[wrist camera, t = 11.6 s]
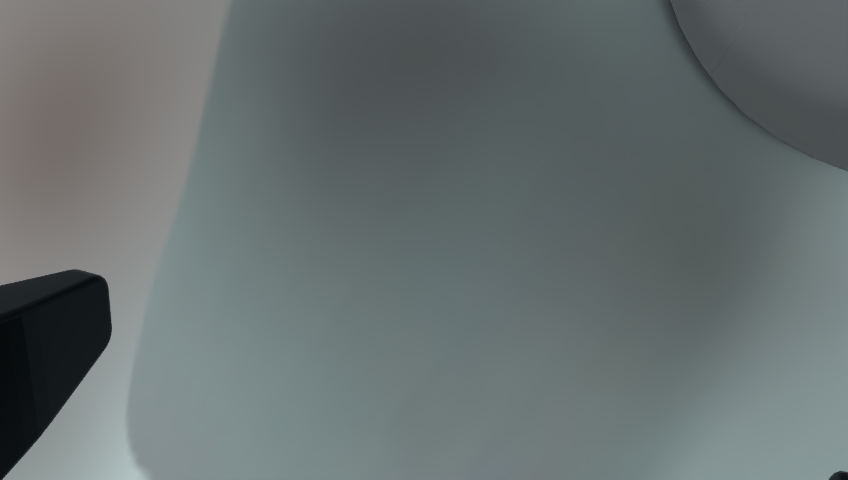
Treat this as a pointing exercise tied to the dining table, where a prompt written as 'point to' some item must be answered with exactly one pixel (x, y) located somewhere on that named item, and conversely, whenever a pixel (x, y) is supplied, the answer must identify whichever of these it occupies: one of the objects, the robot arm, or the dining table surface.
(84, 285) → the robot arm
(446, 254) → the dining table surface
